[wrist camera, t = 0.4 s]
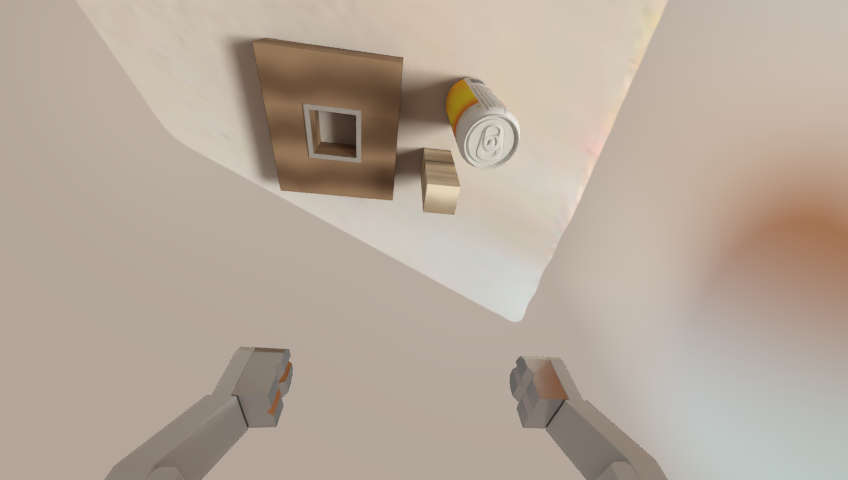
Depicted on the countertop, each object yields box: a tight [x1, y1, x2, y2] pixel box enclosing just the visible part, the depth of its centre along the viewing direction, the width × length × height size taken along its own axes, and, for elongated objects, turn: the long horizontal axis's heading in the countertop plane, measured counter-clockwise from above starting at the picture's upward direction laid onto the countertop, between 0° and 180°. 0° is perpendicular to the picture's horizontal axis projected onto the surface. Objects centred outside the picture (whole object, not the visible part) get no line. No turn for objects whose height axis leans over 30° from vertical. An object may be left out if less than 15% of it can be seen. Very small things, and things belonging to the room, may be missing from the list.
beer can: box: [446, 78, 520, 169], centre depth 34 cm, size 6×6×15 cm
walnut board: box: [253, 38, 403, 200], centre depth 40 cm, size 18×16×4 cm
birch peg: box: [421, 148, 460, 215], centre depth 41 cm, size 4×4×11 cm
